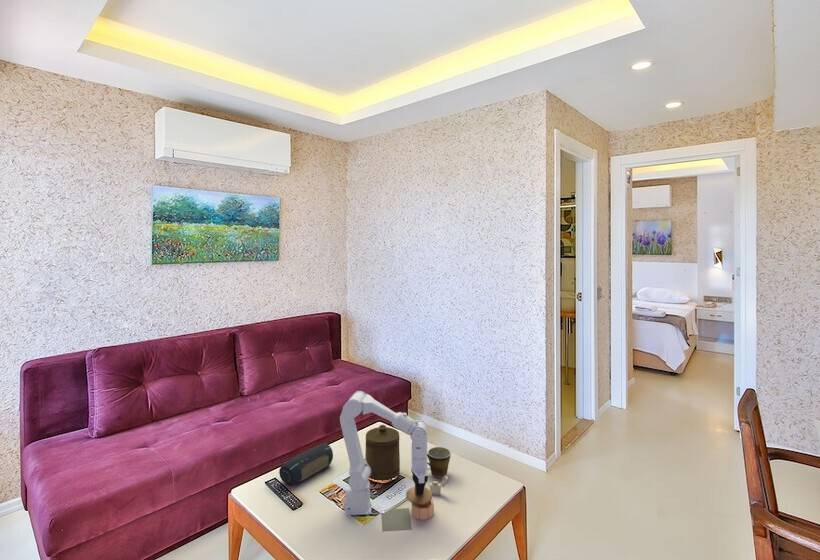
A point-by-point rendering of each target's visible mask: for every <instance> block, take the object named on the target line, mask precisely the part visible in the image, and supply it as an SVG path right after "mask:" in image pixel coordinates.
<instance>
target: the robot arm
mask: <svg viewBox="0 0 820 560" xmlns="http://www.w3.org/2000/svg"><path fill="white" fill-rule="evenodd" d="M361 413H362V415H366V414H367V415H368V414H370V413H373V414H375V415H376V416H379V417H381V418H383V419H386V420H387V421H389V422H391V425H392V427H393V428H394V429H396V430H399V431H401V432H402V433H404V434H406V435H408V436H409V437H410V440H411V466H410V471H411V474H412V475H411V476H412V482H413V483H414V487H415V486H416V492H417V495H422V494H423V492H424V487H425V486H426V483H427V482H428V480H429V476H428V475H427V474H428V473H427V472H428V471H431V469H430V466H429V465H428V464H427V462H428V457H427V454H428V439H427V435H428V431H429V427H428V425H427V423H426V422H424V420H418V419H414V418H413V417H411V416H409V415H408V414H407V412H401V411H399V412H395V411H394V410H392V409H390V408H389V407H387V406H385V404H383V403H381V402H379V401H378V400H376V399H375V398H374V397H372V395H370V394H368V393H366V392H364V391H361V390H356V391H355V392H354V393H353V394H352V395H351V396H350V397H349V399H348V400H347V401H346V403H345V404H344V405H343V406H342V411H341V413H340V416H339V422H340V426H341V431H342V435H343V440H344V445H345V448H346V453H347V457H348V460H349V471H348V475H349V479H348V485H345V492H344V493H345V494H344V497H345V498H344V499H345V500H344V509H345V510H344V512H345V513H344V515H345V516H357V515H371V514H372V506H371V507H370V500H371V483H370V482H371V481H369V480H368V478H369V476H370V475H371V468H370V467H369V465H368V464H367V461H366V459H365V458H364V454H363V450H362V447H361V441H360V437H359V433H358V429H357V425H356V421H355V419H356V417H357V416H359V415H360V414H361ZM425 488H426V487H425Z"/></svg>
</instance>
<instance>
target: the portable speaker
mask: <svg viewBox="0 0 820 560" xmlns="http://www.w3.org/2000/svg"><path fill="white" fill-rule="evenodd" d="M333 459H334V453H333V449H332V447H331V446H330V445H329V444H328V443H321V444H318V445H315V446H314V447H312V448H310V449H308V450H306V451H303V452H302V453H300V454H298V455H296V456H294V457H292V458H290V459H288V460H287V461H285V462H284V463H283V464H282V465H281V466H280V468H279V470H278V474H279V477H280V479H281V480H282V482H283V483H285V484H286V485H287V486H294V485H298V483H300V482H302V481H304V480H306V479H308V478H309V477H311V476H313V475H315V474H317V473H318V472H320V471H322V470H323V469H325V468H327V467H329V466H330V465H331V464H332V462H333Z"/></svg>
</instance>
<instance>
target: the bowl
mask: <svg viewBox="0 0 820 560" xmlns="http://www.w3.org/2000/svg"><path fill="white" fill-rule="evenodd" d="M410 503H411V504H410V505H411V508H410V509H411V515H412V517H414V518H415V519H417V520H428V519H430V518H432V517H433V515H434V514H435V513H434V511H435V510H434V509H435V508H434V507H435V504H434V503H435V502H434V499H433V498H432V499H431V500H430V501H429V502H427V503H425V504H415V503H412V502H410Z"/></svg>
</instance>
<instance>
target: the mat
mask: <svg viewBox="0 0 820 560" xmlns="http://www.w3.org/2000/svg"><path fill="white" fill-rule="evenodd" d="M390 509H391V510H389V511H387V512H385V513H381V512H380V513H381V514H380V515H381V532H395V531H398V532H399V531H410V530H411V531H412V530H413V528H412V520H411V514H410V508H409V507H407V508H406V507H405V508H402V507H401V508H390Z"/></svg>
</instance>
